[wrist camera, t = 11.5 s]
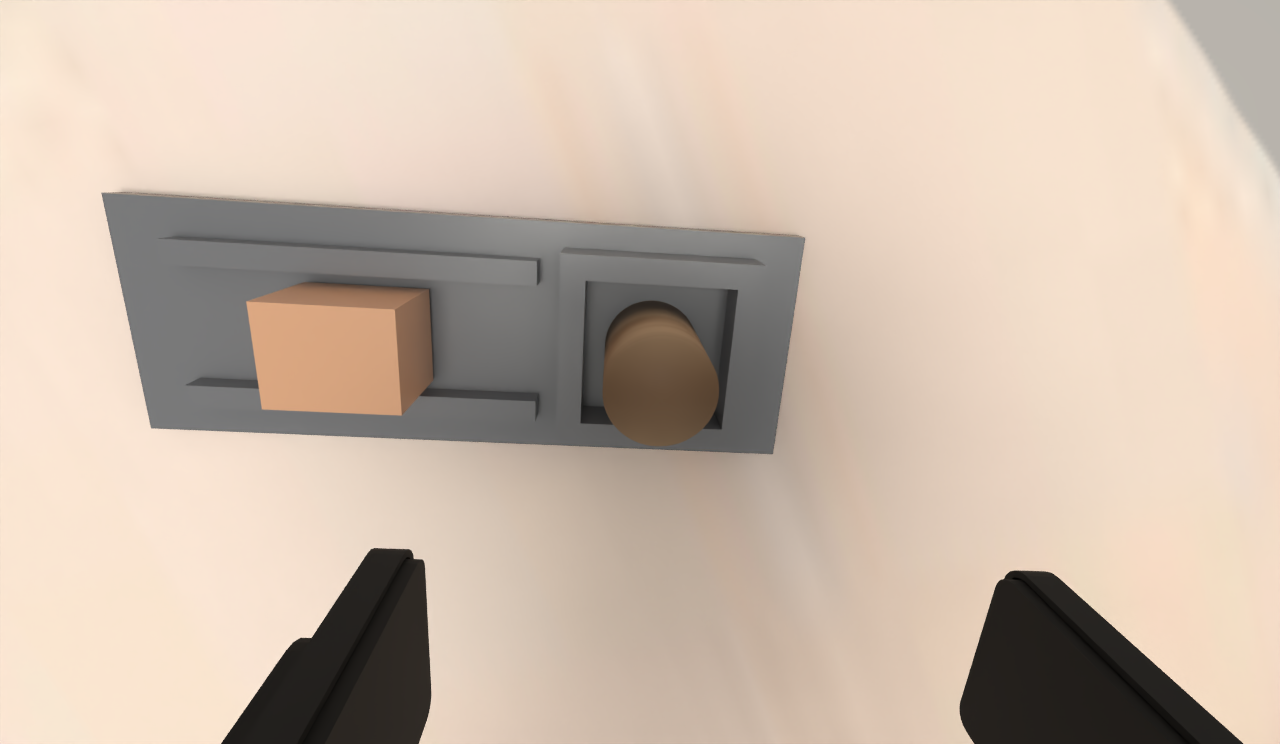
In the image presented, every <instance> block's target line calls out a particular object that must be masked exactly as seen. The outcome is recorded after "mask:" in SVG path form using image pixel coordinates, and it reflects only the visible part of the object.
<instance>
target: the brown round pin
mask: <svg viewBox="0 0 1280 744" xmlns="http://www.w3.org/2000/svg"><path fill="white" fill-rule="evenodd" d="M718 398H719V382H718V377H717V374H716V371H715V369H714V367H713V365H712V363H711V361H710V359H709V357H708V355H707V353H706V351H705V349H704V347H703V346H702V344H701V342H700V340H699V338H698V336H697V334H696V332H695V330H694V328H693V326H692V325H691V323H690V321H689V320H688V318H687V317H686V316H685V315H684V314H683V313H682V312H681V311H680V310H679V309H677V308H676V307H674V306H672V305H670V304H668V303H664V302H661V301H642V302H638V303H635V304H633V305H630V306H629V307H627V308H625V309H624V310H623V311H621V312H620V313H619V314H618V315H617V316H616V317H615V319H614V320H613V321H612V323H611V325H610V326H609V329H608V331H607V335H606V340H605V355H604V373H603V403H604V407H605V410H606V413H607V415H608V417H609V419H610V420H611V422H612V424H613V425H614V426H615V427H616V428H617V429H618V430H619V431H620V432H621V433H622V434H623V435H625V436H626V437H628V438H629V439H631V440H633V441H635V442H638V443H641V444H644V445H649V446H670V445H674V444H678V443H681V442H683V441H686V440H688V439H690V438H691V437H693V436H694V435H696V434H697V433H698V432H700V431H701V430H702V429H703V428H704V427H705V426H706V424H707V423H708V422H709V420H710V419H711V417H712V416H713V414H714V412H715V409H716V406H717V403H718Z"/></svg>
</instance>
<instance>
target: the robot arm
mask: <svg viewBox="0 0 1280 744" xmlns="http://www.w3.org/2000/svg"><path fill="white" fill-rule="evenodd" d="M430 703H431V677H430V657H429V638H428V618H427V598H426V579H425V564H424V561H423V560H420V559H414V558H413V553H412V551H411V550H409V549H382V548H374V549H371V550H370V551H369V553H368V554H367V555H366V557H365V558H364V560H363V561H362V563H361V564H360V566H359V567H358V569H357V570H356V572H355V573H354V575H353V576H352V578H351V579H350V581H349V582H348V584H347V585H346V587H345V588H344V590H343V591H342V593H341V594H340V596H339V597H338V599H337V600H336V602H335V604H334V605H333V607H332V608H331V610H330V611H329V613H328V614H327V616H326V617H325V619H324V620H323V622H322V623H321V625H320V626H319V628H318V629H317V631H316V632H315V634H314V635H313V637H312V638H300V639H298V640H296V641H295V642H293V643H292V645H291V646H290V647H289V648H288V649H287V650H286V652H285V653H284V654H283V656H282V657H281V659H280V660H279V662H278V663H277V664H276V666H275V667H274V669H273V670H272V672H271V673H270V674H269V676H268V677H267V679H266V680H265V682H264V683H263V684H262V686H261V687H260V689H259V690H258V692H257V693H256V694H255V696H254V697H253V699H252V700H251V702H250V703H249V705H248V706H247V707H246V709H245V710H244V712H243V713H242V715H241V716H240V717H239V719H238V720H237V722H236V723H235V725H234V726H233V727H232V729H231V730H230V732H229V733H228V735H227V736H226V737H225V739H224V740H223V742H222V743H221V744H419V741H420V738H421V735H422V733H423V730H424V727H425V724H426V721H427V718H428V714H429V709H430ZM960 716H961V720H962V723H963V726H964V728H965V730H966V731H967V733H968V735H969V736H970V738H971V739H972V741H973V742H974V744H1243V743H1242V742H1241V741H1240V740H1239V739H1238V738H1236V737H1235V736H1234V735H1233V734H1232V733H1231V732H1230V731H1229V730H1228V729H1226V728H1225V727H1224V726H1223V725H1222V724H1221V723H1220V722H1219V721H1218V720H1216V719H1215V718H1214V717H1213V716H1212V715H1211V714H1210V713H1209V712H1208V711H1206V710H1205V709H1204V708H1203V707H1202V706H1201V705H1200V704H1199V703H1197V702H1196V701H1195V700H1194V699H1193V698H1192V697H1191V696H1190V695H1189V694H1187V693H1186V692H1185V691H1184V690H1183V689H1182V688H1181V687H1180V686H1179V685H1177V684H1176V683H1175V682H1174V681H1173V680H1172V679H1171V678H1170V677H1169V676H1167V675H1166V674H1165V673H1164V672H1163V671H1162V670H1161V669H1160V668H1158V667H1157V666H1156V665H1155V664H1154V663H1153V662H1152V661H1151V660H1150V659H1148V658H1147V657H1146V656H1145V655H1144V654H1143V653H1142V652H1141V651H1140V650H1138V649H1137V648H1136V647H1135V646H1134V645H1133V644H1132V643H1131V642H1129V641H1128V640H1127V639H1126V638H1125V637H1124V636H1123V635H1122V634H1121V633H1119V632H1118V631H1117V630H1116V629H1115V628H1114V627H1113V626H1112V625H1111V624H1109V623H1108V622H1107V621H1106V620H1105V619H1104V618H1103V617H1102V616H1101V615H1099V614H1098V613H1097V612H1096V611H1095V610H1094V609H1093V608H1092V607H1090V606H1089V605H1088V604H1087V603H1086V602H1085V601H1084V600H1083V599H1082V598H1080V597H1079V596H1078V595H1077V594H1076V593H1075V592H1074V591H1073V590H1072V589H1070V588H1069V587H1068V586H1067V585H1066V584H1065V583H1064V582H1063V581H1062V580H1060V579H1059V578H1058V577H1057V576H1055V575H1054V574H1052V573H1049V572H1044V571H1011V572H1009V573H1008V574H1007V575H1006V576H1005V578H1004V579H1003V580H1000V581H999V582H998V583H997V585H996V587H995V590H994V594H993V597H992V600H991V603H990V607H989V610H988V613H987V617H986V620H985V623H984V626H983V630H982V633H981V636H980V640H979V643H978V646H977V649H976V653H975V656H974V659H973V662H972V666H971V669H970V672H969V676H968V679H967V682H966V685H965V689H964V692H963V695H962V698H961V702H960Z"/></svg>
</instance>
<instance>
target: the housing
mask: <svg viewBox="0 0 1280 744" xmlns="http://www.w3.org/2000/svg"><path fill="white" fill-rule="evenodd" d="M102 197H103V202H104V207H105V212H106V216H107V221H108V226H109V231H110V235H111V240H112V245H113V250H114V254H115V259H116V264H117V268H118V273H119V278H120V283H121V287H122V292H123V297H124V302H125V306H126V311H127V316H128V321H129V325H130V330H131V335H132V340H133V344H134V349H135V354H136V359H137V363H138V368H139V373H140V377H141V382H142V387H143V392H144V396H145V401H146V406H147V411H148V415H149V420H150V425H151V428H158V429H182V430H206V431H230V432H254V433H278V434H302V435H326V436H350V437H374V438H398V439H422V440H446V441H470V442H494V443H518V444H542V445H566V446H590V447H614V448H638V449H662V450H686V451H710V452H734V453H758V454H773V449H774V443H775V436H776V429H777V423H778V416H779V409H780V403H781V396H782V389H783V383H784V376H785V369H786V363H787V356H788V349H789V343H790V336H791V329H792V323H793V316H794V309H795V303H796V296H797V289H798V283H799V276H800V269H801V263H802V256H803V249H804V243H805V238H804V237H801V236H796V235H780V234H765V233H749V232H734V231H718V230H703V229H687V228H671V227H656V226H640V225H625V224H609V223H594V222H578V221H562V220H547V219H531V218H516V217H500V216H485V215H469V214H453V213H438V212H422V211H407V210H391V209H376V208H360V207H344V206H329V205H313V204H298V203H282V202H267V201H251V200H235V199H220V198H204V197H189V196H173V195H158V194H142V193H126V192H112V193H102ZM303 282H315V283H332V284H350V285H368V286H385V287H403V288H421V289H429V298H430V319H431V341H432V362H433V381H432V382H431V383H430V385H429V386H428V387H427V388H426V389H425V390H424V391H423V392H422V393H421V395H420V396H419V397H418V398H417V399H416V400H415V401H414V402H413V404H412V405H411V406H410V407H409V408H408V409H407V410H406V411H405V412H404V414H403V415H402V416H400V415H377V414H355V413H332V412H309V411H286V410H264V409H262V406H261V399H260V392H259V386H258V379H257V372H256V365H255V358H254V351H253V344H252V337H251V331H250V324H249V317H248V310H247V303H246V301H249V300H252V299H255V298H258V297H261V296H264V295H267V294H270V293H273V292H276V291H279V290H282V289H285V288H288V287H291V286H294V285H297V284H300V283H303ZM642 301H661V302H664V303H668V304H670V305H672V306H674V307H676V308H677V309H679V310H680V311H681V312H682V313H683V314H684V315H685V316H686V317H687V318H688V320H689V321H690V323H691V325H692V326H693V328H694V330H695V332H696V334H697V336H698V338H699V340H700V342H701V344H702V346H703V347H704V349H705V351H706V353H707V355H708V357H709V359H710V361H711V363H712V365H713V367H714V369H715V371H716V374H717V377H718V382H719V398H718V403H717V406H716V409H715V412H714V414H713V416H712V417H711V419H710V420H709V422H708V423H707V424H706V426H705V427H704V428H703V429H702V430H701V431H700V432H698V433H697V434H696V435H694V436H693V437H691V438H690V439H688V440H686V441H683V442H681V443H678V444H674V445H670V446H649V445H644V444H641V443H638V442H635V441H633V440H631V439H629V438H628V437H626V436H625V435H623V434H622V433H621V432H620V431H619V430H618V429H617V428H616V427H615V426H614V425H613V424H612V422H611V420H610V419H609V417H608V415H607V413H606V410H605V407H604V403H603V373H604V355H605V340H606V335H607V331H608V329H609V326H610V325H611V323H612V321H613V320H614V319H615V317H616V316H617V315H618V314H619V313H620V312H621V311H623V310H624V309H625V308H627V307H629V306H630V305H633V304H635V303H638V302H642Z"/></svg>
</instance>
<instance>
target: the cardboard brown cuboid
mask: <svg viewBox="0 0 1280 744" xmlns="http://www.w3.org/2000/svg"><path fill="white" fill-rule="evenodd" d="M246 303H247V310H248V317H249V324H250V331H251V337H252V344H253V351H254V358H255V365H256V372H257V379H258V386H259V392H260V399H261V406H262V409H264V410H286V411H309V412H332V413H355V414H377V415H400V416H402V415H403V414H404V412H405V411H406V410H407V409H408V408H409V407H410V406H411V405H412V404H413V402H414V401H415V400H416V399H417V398H418V397H419V396H420V395H421V393H422V392H423V391H424V390H425V389H426V388H427V387H428V386H429V385H430V383H431V382H432V381H433V362H432V341H431V319H430V298H429V289H421V288H403V287H385V286H368V285H350V284H332V283H315V282H303V283H300V284H297V285H294V286H291V287H288V288H285V289H282V290H279V291H276V292H273V293H270V294H267V295H264V296H261V297H258V298H255V299H252V300H249V301H246Z"/></svg>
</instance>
